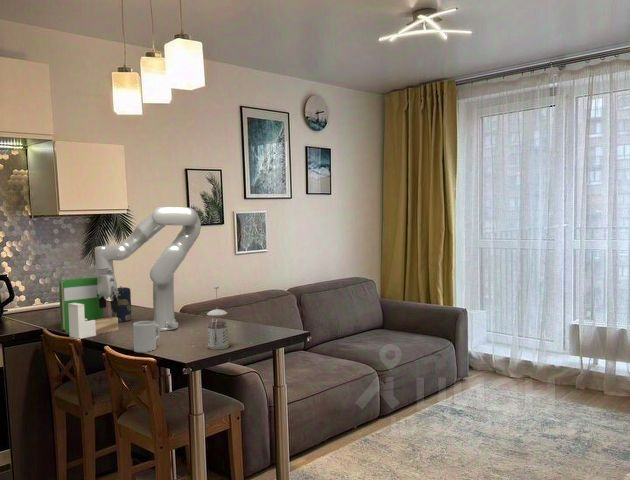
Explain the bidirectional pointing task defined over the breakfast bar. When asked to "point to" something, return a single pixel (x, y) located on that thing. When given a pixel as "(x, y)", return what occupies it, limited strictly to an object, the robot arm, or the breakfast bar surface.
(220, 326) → the french press
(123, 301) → the canister
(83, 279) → the hardback book
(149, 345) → the mug
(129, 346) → the breakfast bar surface
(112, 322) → the light wood block
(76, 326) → the white stepped block
